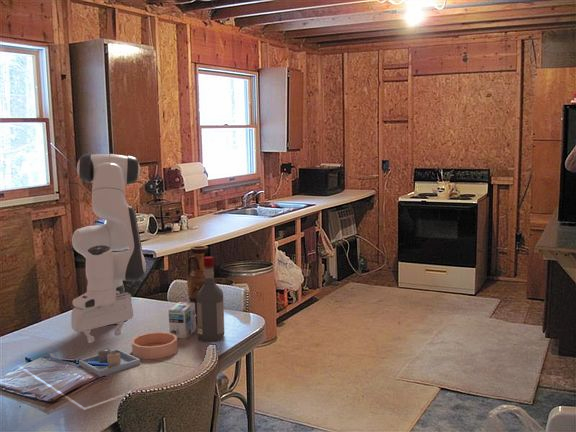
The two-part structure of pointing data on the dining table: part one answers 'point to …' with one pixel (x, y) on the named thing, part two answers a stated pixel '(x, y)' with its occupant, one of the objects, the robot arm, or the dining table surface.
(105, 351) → the grey cube
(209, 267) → the liquor
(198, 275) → the vase
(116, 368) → the parts tray
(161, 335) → the bowl
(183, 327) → the light bulb box
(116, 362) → the tan wooden cube
